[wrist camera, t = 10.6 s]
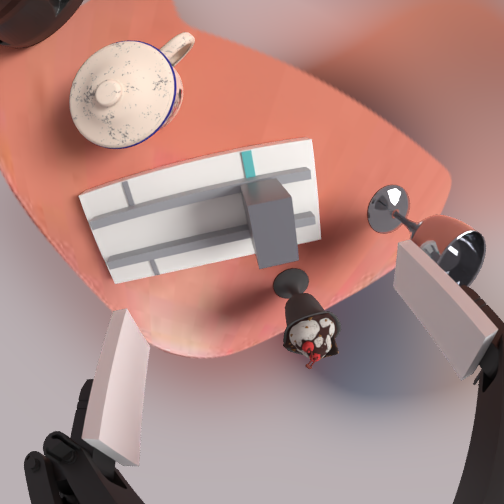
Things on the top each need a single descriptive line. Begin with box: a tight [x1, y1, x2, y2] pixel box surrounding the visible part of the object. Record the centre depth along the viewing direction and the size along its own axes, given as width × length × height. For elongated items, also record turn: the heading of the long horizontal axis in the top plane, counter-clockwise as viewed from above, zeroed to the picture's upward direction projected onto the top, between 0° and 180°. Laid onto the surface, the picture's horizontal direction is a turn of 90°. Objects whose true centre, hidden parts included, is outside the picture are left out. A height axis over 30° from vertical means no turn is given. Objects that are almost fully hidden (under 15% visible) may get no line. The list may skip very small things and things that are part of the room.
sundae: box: [274, 269, 341, 369], centre depth 33 cm, size 7×7×15 cm
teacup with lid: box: [69, 32, 195, 149], centre depth 20 cm, size 12×9×12 cm
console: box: [79, 137, 321, 284], centre depth 31 cm, size 12×26×4 cm, turn 100°
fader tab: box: [240, 178, 299, 269], centre depth 28 cm, size 6×4×8 cm, turn 10°
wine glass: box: [368, 185, 486, 287], centre depth 29 cm, size 8×8×15 cm
